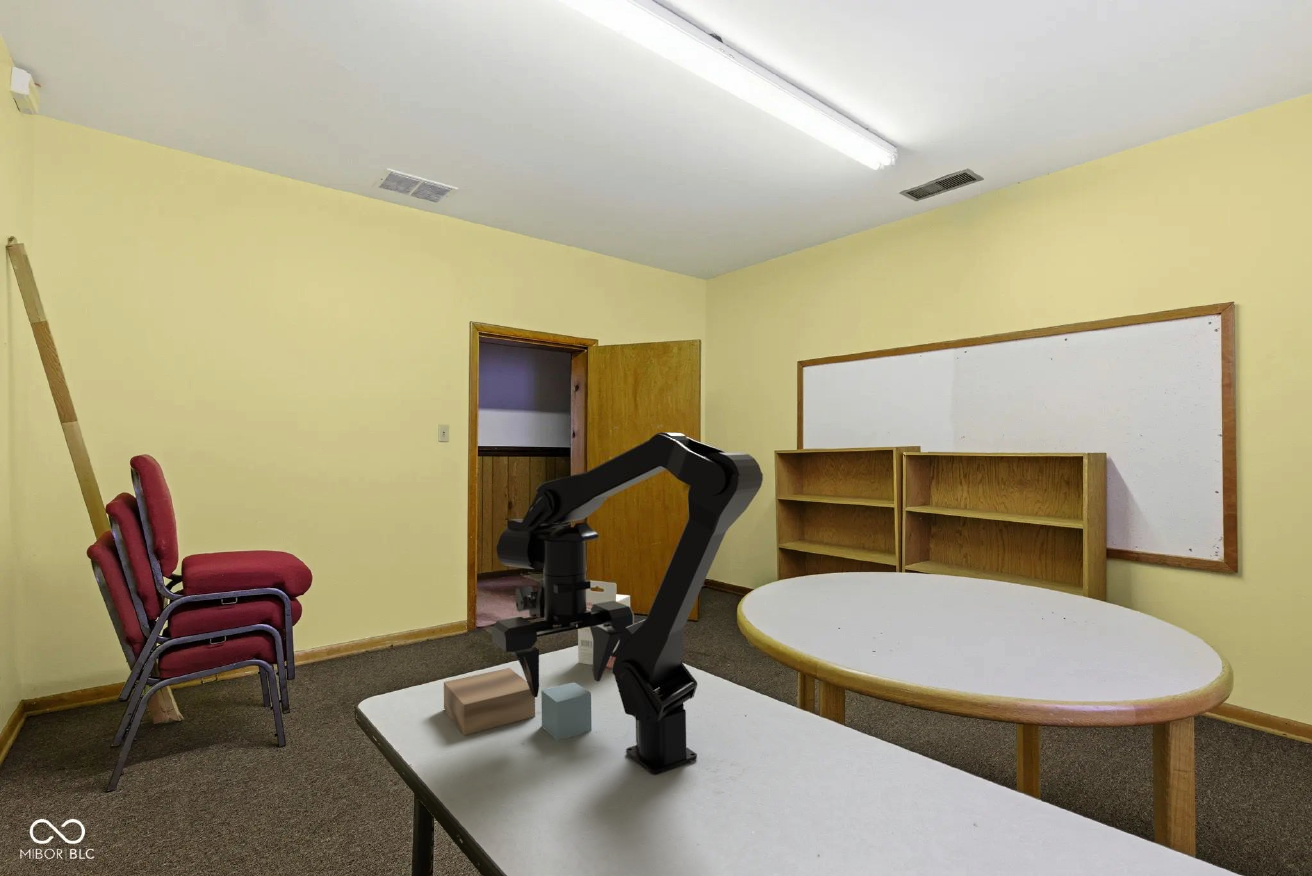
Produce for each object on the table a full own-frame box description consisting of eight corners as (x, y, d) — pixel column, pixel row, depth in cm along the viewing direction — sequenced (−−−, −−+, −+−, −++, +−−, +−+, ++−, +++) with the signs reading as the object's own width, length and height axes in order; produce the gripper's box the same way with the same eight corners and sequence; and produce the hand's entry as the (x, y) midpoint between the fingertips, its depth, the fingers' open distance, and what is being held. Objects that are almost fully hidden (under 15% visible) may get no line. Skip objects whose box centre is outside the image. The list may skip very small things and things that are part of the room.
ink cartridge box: (633, 661, 111) (631, 578, 111) (618, 670, 106) (617, 583, 106) (592, 654, 115) (591, 574, 115) (576, 663, 110) (575, 579, 110)
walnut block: (535, 716, 88) (534, 687, 88) (464, 735, 83) (464, 704, 83) (509, 693, 97) (509, 667, 97) (443, 709, 91) (443, 682, 91)
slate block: (591, 730, 84) (591, 693, 84) (557, 741, 81) (556, 702, 81) (575, 717, 88) (574, 682, 88) (541, 727, 85) (541, 690, 85)
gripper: (597, 557, 97) (599, 658, 96) (478, 572, 86) (479, 685, 86) (635, 567, 87) (637, 679, 87) (506, 585, 77) (508, 713, 77)
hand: (566, 688), depth 84 cm, fingers open, 9 cm apart
